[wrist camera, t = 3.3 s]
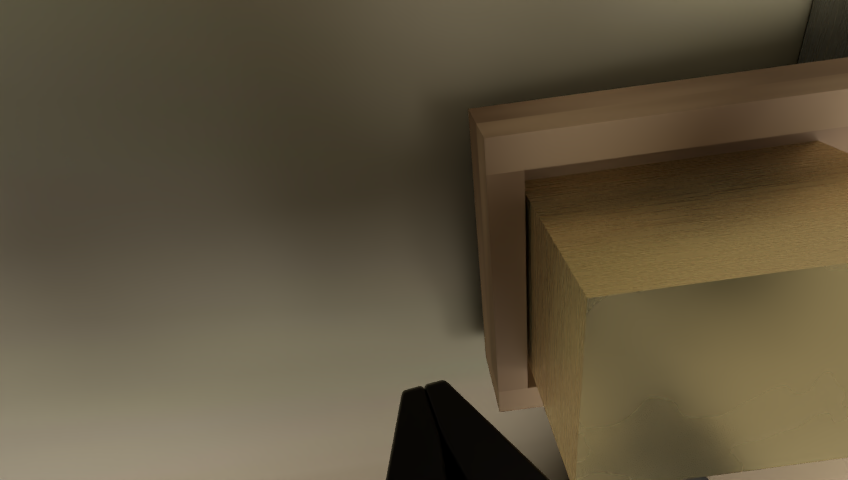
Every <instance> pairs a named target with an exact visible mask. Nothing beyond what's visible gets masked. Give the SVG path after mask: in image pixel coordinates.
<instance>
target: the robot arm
mask: <svg viewBox="0 0 848 480" xmlns="http://www.w3.org/2000/svg"><path fill="white" fill-rule="evenodd" d="M386 480H550V479H548V478H547V477H546V476H545V475H544V474H543V473H542V472H541V471H540V470H539V469H538V468H537V467H536V466H535V465H534V464H533V463H532V462H531V461H530V460H528V459H527V458H526V457H525V456H524V455H523V454H522V453H521V452H520V451H519V450H518V449H517V448H516V447H515V446H514V445H513V444H512V443H511V442H510V441H509V440H507V439H506V438H505V437H504V436H503V435H502V434H501V433H500V432H499V431H498V430H497V429H496V428H495V427H494V426H493V425H492V424H491V423H490V422H489V421H488V420H486V419H485V418H484V417H483V416H482V415H481V414H480V413H479V412H478V411H477V410H476V409H475V408H474V407H473V406H472V405H471V404H470V403H469V402H468V401H467V400H465V399H464V398H463V397H462V396H461V395H460V394H459V393H458V392H457V391H456V390H455V389H454V388H453V387H452V386H451V385H450V384H449V383H448V382H446V381H444V380H441V381H437V382H433V383H429V384H427V385H426V386H425V388H423V387H422V386H418V387H415V388H411V389H407V390H404V391H403V393H402V395H401V401H400V406H399V412H398V417H397V422H396V428H395V433H394V439H393V444H392V450H391V455H390V461H389V466H388V472H387V477H386ZM684 480H708V478H707V477H698V478H691V479H684Z"/></svg>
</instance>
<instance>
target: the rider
mask: <svg viewBox="0 0 848 480" xmlns="http://www.w3.org/2000/svg"><path fill="white" fill-rule="evenodd" d="M525 230H526V301H527V360H528V363H529V366H530V368H531V371H532V374H533V377H534V380H535V383H536V386H537V388H538V391H539V394H540V397H541V400H542V403H543V405H544V408H545V411H546V414H547V417H548V420H549V423H550V425H551V428H552V431H553V434H554V437H555V440H556V442H557V445H558V448H559V451H560V454H561V457H562V459H563V462H564V465H565V468H566V471H567V474H568V477H569V479H570V480H684V479H691V478H698V477H706V476H713V475H721V474H728V473H736V472H743V471H750V470H758V469H765V468H773V467H780V466H788V465H795V464H802V463H810V462H817V461H825V460H832V459H840V458H847V457H848V153H846V152H844V151H842V150H839V149H837V148H834V147H832V146H830V145H827V144H825V143H822V142H820V141H812V142H805V143H798V144H790V145H783V146H775V147H768V148H761V149H753V150H746V151H739V152H731V153H724V154H717V155H709V156H702V157H694V158H687V159H680V160H672V161H665V162H658V163H650V164H643V165H636V166H628V167H621V168H613V169H606V170H599V171H591V172H584V173H577V174H569V175H562V176H555V177H547V178H540V179H532V180H525Z"/></svg>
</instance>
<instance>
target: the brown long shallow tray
mask: <svg viewBox="0 0 848 480" xmlns="http://www.w3.org/2000/svg"><path fill="white" fill-rule="evenodd" d="M468 114H469V128H470V142H471V156H472V170H473V184H474V198H475V211H476V225H477V239H478V253H479V267H480V281H481V295H482V309H483V323H484V337H485V350H486V359H487V363H488V367H489V371H490V375H491V379H492V383H493V387H494V391H495V395H496V399H497V403H498V407H499V411H500V412H504V411H512V410H519V409H526V408H534V407H541V406H544V405H543V403H542V400H541V397H540V394H539V391H538V388H537V386H536V383H535V380H534V377H533V374H532V371H531V368H530V366H529V363H528V360H527V301H526V230H525V180H532V179H540V178H547V177H555V176H562V175H569V174H577V173H584V172H591V171H599V170H606V169H613V168H621V167H628V166H636V165H643V164H650V163H658V162H665V161H672V160H680V159H687V158H694V157H702V156H709V155H717V154H724V153H731V152H739V151H746V150H753V149H761V148H768V147H775V146H783V145H790V144H798V143H805V142H812V141H820V142H822V143H825V144H827V145H830V146H832V147H834V148H837V149H839V150H842V151H844V152H846V153H848V57H845V58H838V59H831V60H823V61H816V62H809V63H801V64H794V65H787V66H779V67H772V68H765V69H757V70H750V71H742V72H735V73H728V74H720V75H713V76H706V77H698V78H691V79H684V80H676V81H669V82H662V83H654V84H647V85H640V86H632V87H625V88H618V89H610V90H603V91H595V92H588V93H581V94H573V95H566V96H559V97H551V98H544V99H537V100H529V101H522V102H515V103H507V104H500V105H493V106H485V107H478V108H470V109H468Z"/></svg>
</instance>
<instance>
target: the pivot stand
mask: <svg viewBox="0 0 848 480" xmlns="http://www.w3.org/2000/svg"><path fill="white" fill-rule="evenodd" d="M845 57H848V0H814V1H813V5H812V9H811V13H810V17H809V21H808V25H807V29H806V32H805V36H804V40H803V44H802V48H801V52H800V56H799V59H798V63H797V64H801V63H809V62H816V61H823V60H831V59H838V58H845Z"/></svg>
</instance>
